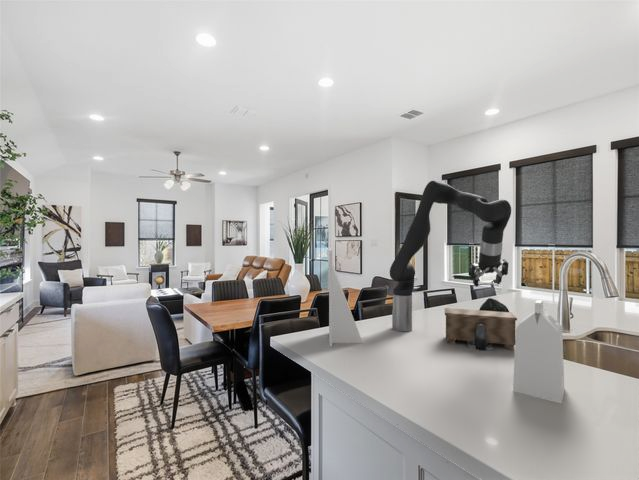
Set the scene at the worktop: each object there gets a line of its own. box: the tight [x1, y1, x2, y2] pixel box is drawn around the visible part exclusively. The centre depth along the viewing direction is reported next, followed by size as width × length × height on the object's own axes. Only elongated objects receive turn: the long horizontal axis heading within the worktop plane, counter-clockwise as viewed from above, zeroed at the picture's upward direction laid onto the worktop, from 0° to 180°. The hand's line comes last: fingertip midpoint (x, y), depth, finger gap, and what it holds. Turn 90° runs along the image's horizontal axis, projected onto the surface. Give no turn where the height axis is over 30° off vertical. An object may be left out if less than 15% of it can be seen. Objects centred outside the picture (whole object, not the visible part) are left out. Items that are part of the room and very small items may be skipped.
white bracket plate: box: [328, 248, 364, 347], centre depth 147 cm, size 20×14×40 cm
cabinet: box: [444, 307, 518, 351], centre depth 142 cm, size 27×11×13 cm, turn 70°
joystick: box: [466, 323, 494, 352], centre depth 137 cm, size 9×12×10 cm
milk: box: [512, 299, 565, 404], centre depth 97 cm, size 12×12×26 cm
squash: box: [479, 297, 510, 312], centre depth 172 cm, size 14×15×15 cm
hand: (486, 284), depth 134 cm, fingers open, 8 cm apart
